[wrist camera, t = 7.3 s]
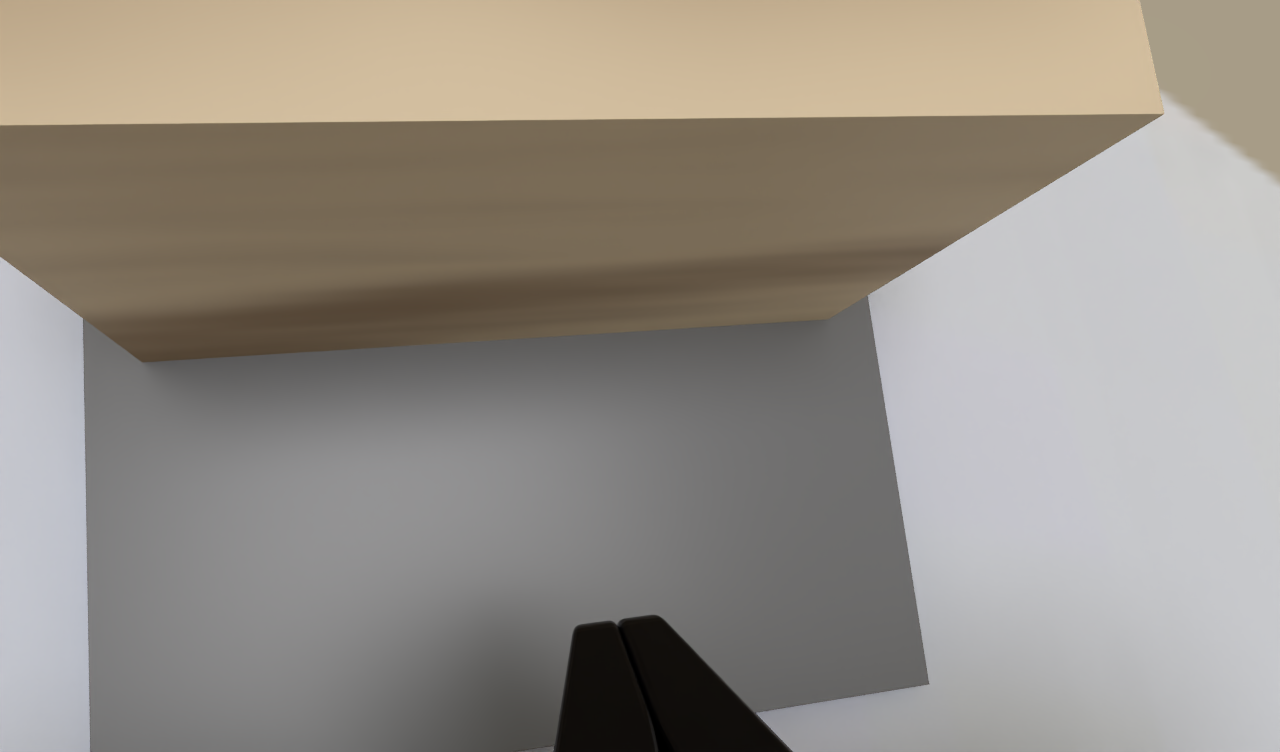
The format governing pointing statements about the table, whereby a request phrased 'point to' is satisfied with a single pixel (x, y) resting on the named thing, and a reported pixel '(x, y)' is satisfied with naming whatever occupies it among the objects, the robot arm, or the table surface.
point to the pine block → (526, 158)
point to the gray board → (482, 532)
